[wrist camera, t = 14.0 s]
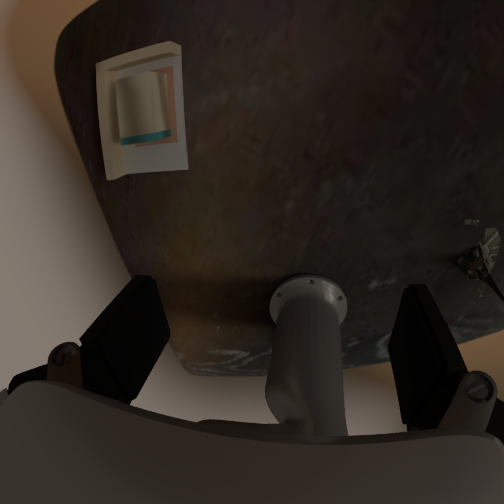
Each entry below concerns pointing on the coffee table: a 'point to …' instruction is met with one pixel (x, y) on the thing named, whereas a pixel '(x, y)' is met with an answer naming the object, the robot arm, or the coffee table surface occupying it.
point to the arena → (116, 156)
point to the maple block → (143, 107)
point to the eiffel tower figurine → (482, 260)
